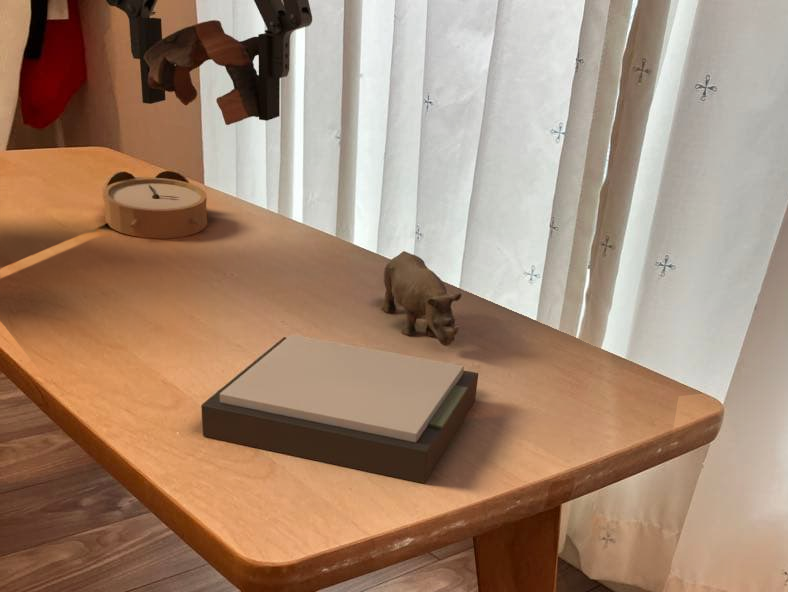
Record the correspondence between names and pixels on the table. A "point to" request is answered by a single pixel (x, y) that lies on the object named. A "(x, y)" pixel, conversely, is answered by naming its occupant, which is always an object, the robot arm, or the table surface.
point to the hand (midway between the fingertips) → (210, 109)
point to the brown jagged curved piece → (193, 51)
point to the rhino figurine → (419, 297)
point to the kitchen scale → (344, 406)
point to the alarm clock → (154, 205)
